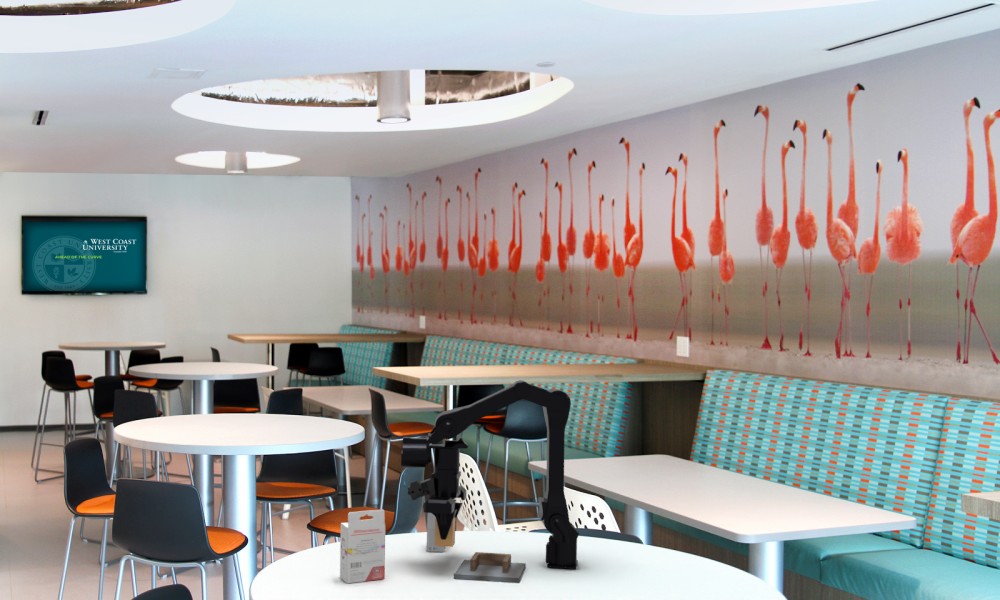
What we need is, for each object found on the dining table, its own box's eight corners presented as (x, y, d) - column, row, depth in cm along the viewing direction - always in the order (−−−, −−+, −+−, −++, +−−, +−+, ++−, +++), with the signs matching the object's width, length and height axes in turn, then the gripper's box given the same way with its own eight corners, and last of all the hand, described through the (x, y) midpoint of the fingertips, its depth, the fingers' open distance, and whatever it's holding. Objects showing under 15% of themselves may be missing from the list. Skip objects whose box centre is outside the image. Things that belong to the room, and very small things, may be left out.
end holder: (525, 567, 201) (525, 552, 201) (518, 582, 189) (519, 566, 189) (464, 564, 203) (464, 548, 203) (453, 578, 191) (454, 562, 191)
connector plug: (454, 543, 203) (455, 508, 203) (452, 546, 200) (453, 510, 200) (437, 542, 204) (438, 507, 204) (434, 545, 201) (435, 509, 201)
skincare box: (444, 552, 213) (445, 501, 214) (426, 552, 213) (427, 501, 214) (446, 546, 219) (447, 497, 220) (428, 545, 219) (429, 496, 220)
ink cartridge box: (377, 573, 194) (378, 505, 195) (385, 579, 190) (386, 509, 190) (338, 577, 190) (340, 508, 191) (345, 584, 186) (347, 512, 186)
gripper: (421, 460, 213) (419, 526, 212) (401, 473, 194) (399, 545, 194) (467, 462, 211) (465, 529, 211) (451, 475, 193) (450, 548, 192)
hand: (445, 537), depth 202 cm, fingers closed on connector plug, 3 cm apart
